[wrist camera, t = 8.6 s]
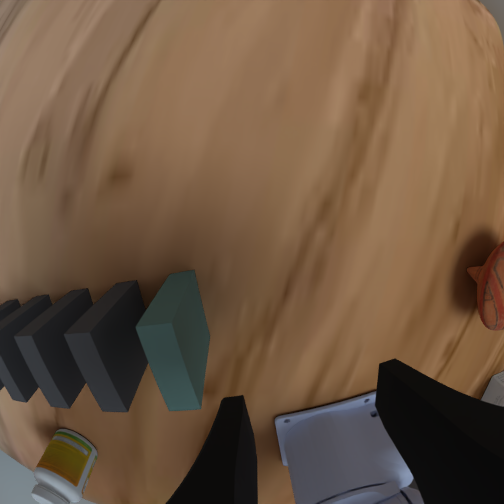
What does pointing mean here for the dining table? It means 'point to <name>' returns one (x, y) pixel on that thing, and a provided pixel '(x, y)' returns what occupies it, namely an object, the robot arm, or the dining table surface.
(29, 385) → the domino
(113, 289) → the domino
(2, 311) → the domino
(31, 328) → the domino
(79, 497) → the supplement bottle
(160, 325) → the loose domino
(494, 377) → the ink cartridge box
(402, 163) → the dining table surface
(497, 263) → the pot
